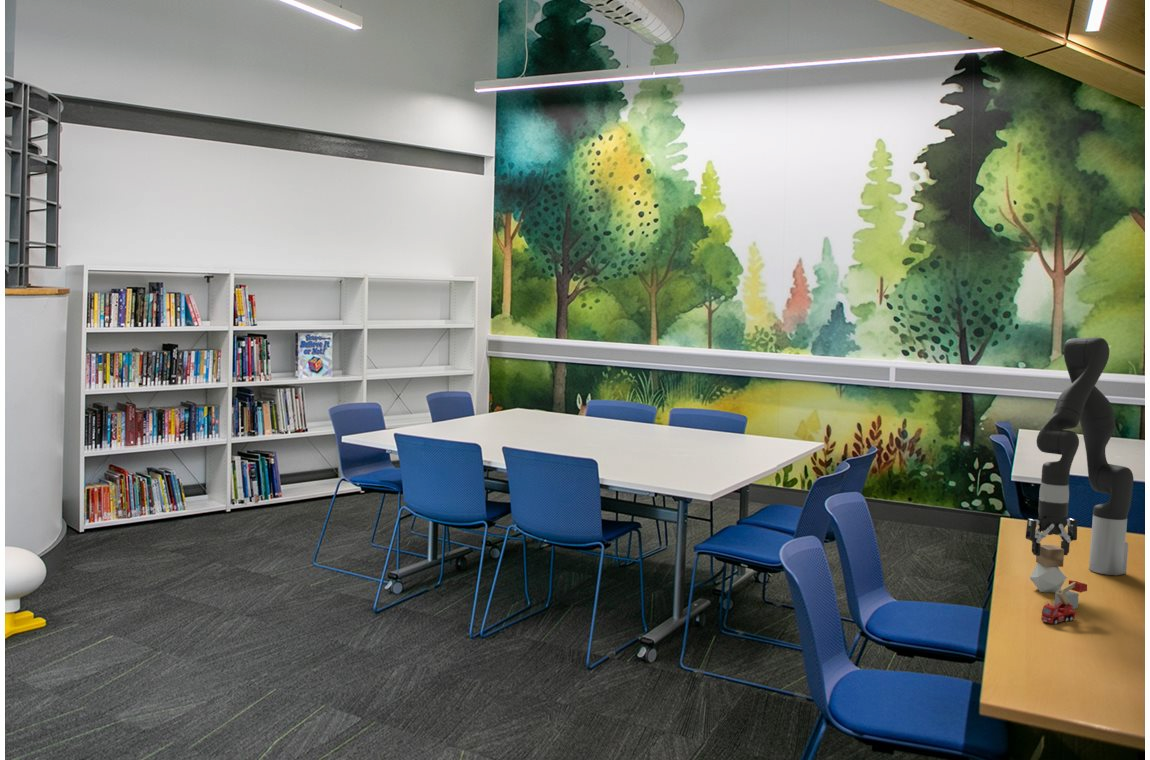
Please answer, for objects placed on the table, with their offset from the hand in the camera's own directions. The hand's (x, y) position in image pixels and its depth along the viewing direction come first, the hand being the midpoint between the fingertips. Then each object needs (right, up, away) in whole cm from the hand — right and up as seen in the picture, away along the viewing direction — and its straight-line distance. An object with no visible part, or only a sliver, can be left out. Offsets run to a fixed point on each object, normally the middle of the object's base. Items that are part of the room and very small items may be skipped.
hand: (1050, 555), depth 269 cm
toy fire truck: (-9, -13, -24) cm, 29 cm away
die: (-1, -11, +1) cm, 11 cm away
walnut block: (0, -3, 0) cm, 3 cm away
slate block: (-2, -12, -13) cm, 18 cm away
